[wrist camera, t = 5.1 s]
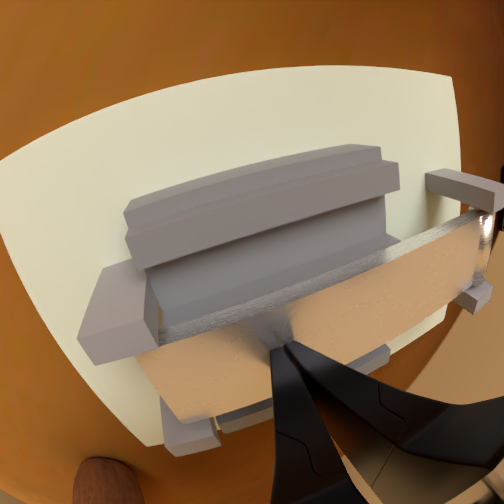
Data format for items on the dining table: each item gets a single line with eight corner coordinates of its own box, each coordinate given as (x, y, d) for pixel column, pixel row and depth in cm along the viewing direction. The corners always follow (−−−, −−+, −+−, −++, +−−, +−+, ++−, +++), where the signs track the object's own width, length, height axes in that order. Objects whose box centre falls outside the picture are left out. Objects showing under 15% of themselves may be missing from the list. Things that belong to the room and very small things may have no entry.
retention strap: (476, 202, 11) (499, 211, 10) (469, 267, 13) (488, 278, 12) (134, 330, 8) (132, 363, 7) (178, 402, 10) (184, 433, 9)
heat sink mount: (439, 77, 12) (513, 78, 7) (435, 313, 20) (481, 349, 15) (-7, 169, 8) (-91, 198, 3) (145, 435, 15) (153, 505, 10)
